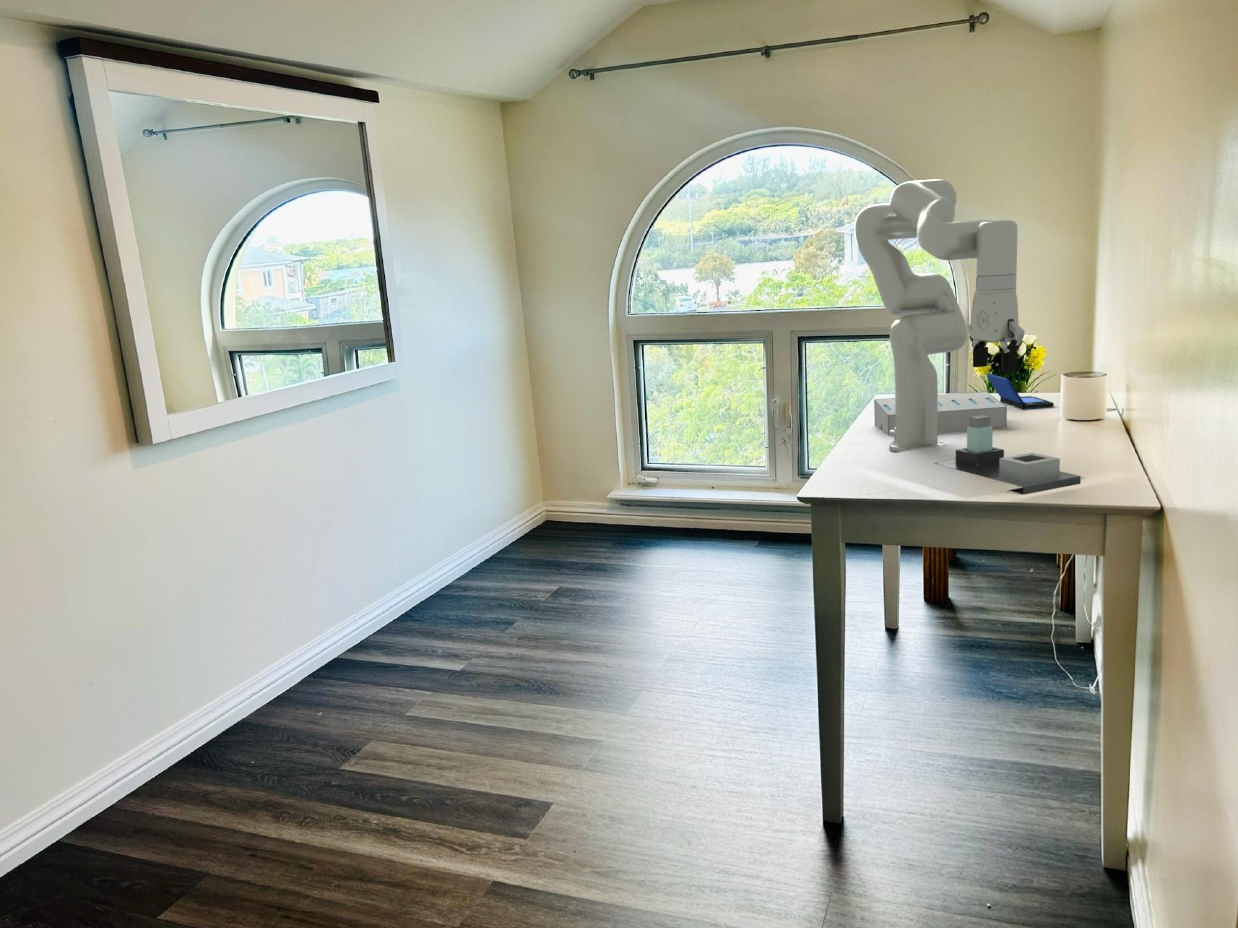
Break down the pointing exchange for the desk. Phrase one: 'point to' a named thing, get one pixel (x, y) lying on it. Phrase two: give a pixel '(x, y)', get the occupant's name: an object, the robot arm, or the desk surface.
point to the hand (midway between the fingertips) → (994, 369)
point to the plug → (979, 434)
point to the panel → (1014, 469)
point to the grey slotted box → (949, 411)
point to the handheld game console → (1016, 395)
